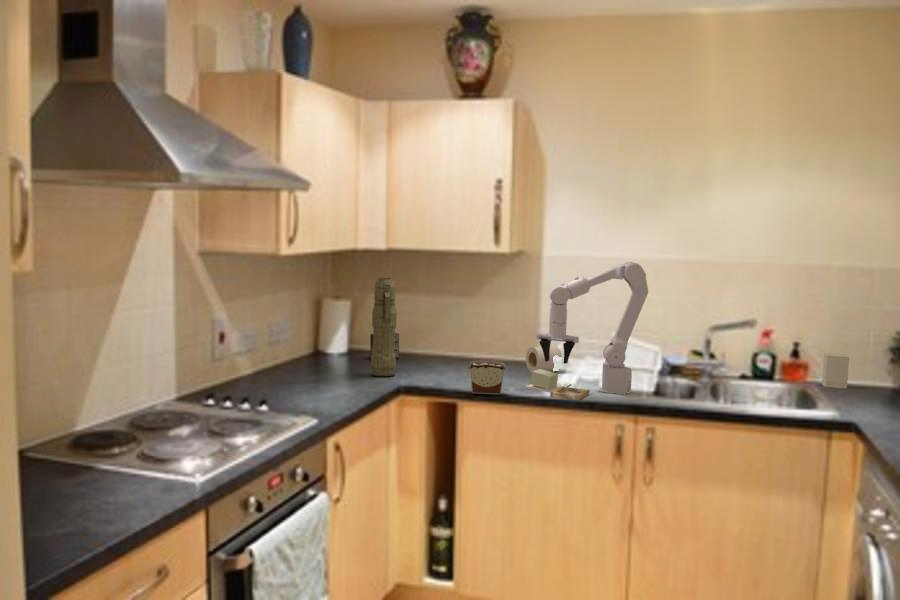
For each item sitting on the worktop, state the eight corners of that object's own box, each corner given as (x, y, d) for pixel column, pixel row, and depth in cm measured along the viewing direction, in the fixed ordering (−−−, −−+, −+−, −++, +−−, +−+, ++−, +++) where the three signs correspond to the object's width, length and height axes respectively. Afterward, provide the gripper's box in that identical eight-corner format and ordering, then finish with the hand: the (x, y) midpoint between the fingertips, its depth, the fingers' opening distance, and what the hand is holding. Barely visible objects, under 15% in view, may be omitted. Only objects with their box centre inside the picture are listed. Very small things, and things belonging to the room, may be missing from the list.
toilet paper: (547, 369, 305) (548, 344, 304) (561, 374, 296) (562, 348, 295) (525, 371, 300) (526, 345, 300) (538, 375, 291) (539, 349, 291)
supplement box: (847, 392, 276) (849, 357, 274) (823, 390, 278) (826, 355, 277) (843, 388, 282) (846, 354, 281) (821, 386, 285) (823, 352, 284)
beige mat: (571, 385, 274) (571, 383, 274) (555, 392, 261) (555, 390, 261) (542, 381, 280) (542, 379, 280) (525, 388, 267) (525, 386, 266)
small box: (390, 356, 325) (390, 331, 324) (399, 358, 320) (400, 333, 319) (369, 358, 319) (369, 333, 318) (378, 361, 314) (378, 335, 313)
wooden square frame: (589, 394, 260) (589, 390, 260) (578, 400, 250) (578, 395, 250) (562, 390, 264) (562, 386, 264) (550, 396, 255) (550, 392, 255)
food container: (505, 390, 262) (506, 361, 261) (505, 394, 256) (506, 364, 255) (468, 389, 263) (469, 359, 262) (467, 392, 257) (468, 362, 256)
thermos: (376, 377, 279) (378, 279, 276) (367, 371, 290) (368, 277, 287) (400, 376, 282) (402, 279, 279) (389, 370, 293) (391, 277, 290)
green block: (558, 373, 267) (540, 369, 271) (550, 376, 262) (532, 371, 266) (556, 386, 267) (538, 381, 271) (548, 389, 262) (530, 384, 266)
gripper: (582, 323, 264) (580, 362, 265) (542, 319, 271) (540, 358, 272) (575, 325, 258) (573, 365, 259) (534, 321, 265) (532, 361, 266)
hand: (556, 362), depth 265 cm, fingers open, 6 cm apart
